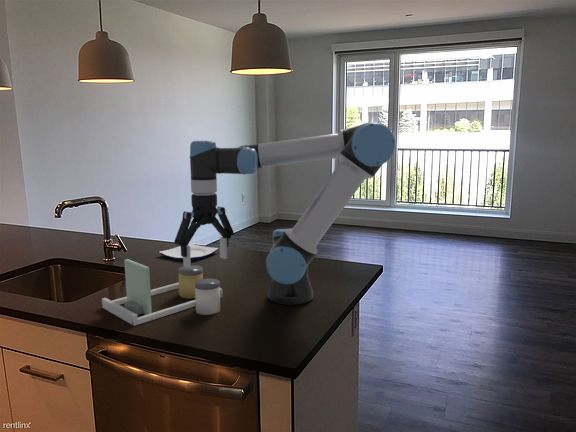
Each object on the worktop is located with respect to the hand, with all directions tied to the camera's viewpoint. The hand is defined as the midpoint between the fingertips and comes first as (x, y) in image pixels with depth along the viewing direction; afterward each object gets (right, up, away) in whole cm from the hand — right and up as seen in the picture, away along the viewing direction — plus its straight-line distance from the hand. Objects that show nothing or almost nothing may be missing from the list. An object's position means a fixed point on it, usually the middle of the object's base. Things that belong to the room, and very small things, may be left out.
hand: (206, 262), depth 146 cm
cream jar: (0, -15, +3) cm, 15 cm away
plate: (-19, -4, +66) cm, 69 cm away
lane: (-15, -14, +9) cm, 22 cm away
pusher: (-22, -15, +2) cm, 27 cm away
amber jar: (-8, -12, +16) cm, 22 cm away
